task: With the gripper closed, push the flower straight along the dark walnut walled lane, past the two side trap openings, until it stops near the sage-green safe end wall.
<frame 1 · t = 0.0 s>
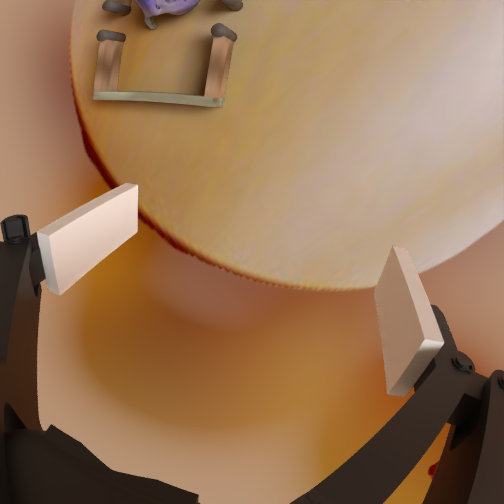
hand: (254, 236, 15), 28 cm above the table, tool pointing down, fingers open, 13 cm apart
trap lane: (169, 42, 36), on the table
flower: (176, 6, 33), on the table
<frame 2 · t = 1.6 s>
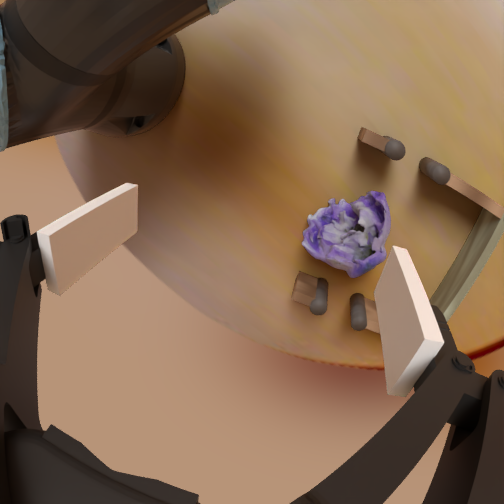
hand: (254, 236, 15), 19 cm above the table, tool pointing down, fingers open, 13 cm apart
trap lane: (399, 240, 32), on the table
flower: (356, 225, 33), on the table
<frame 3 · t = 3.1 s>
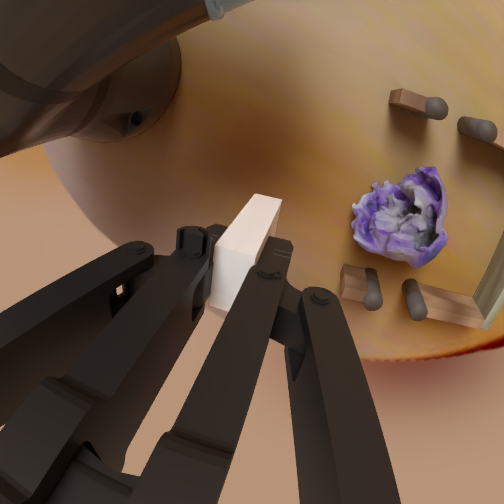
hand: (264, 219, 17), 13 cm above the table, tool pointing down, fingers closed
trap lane: (448, 213, 26), on the table
flower: (404, 208, 28), on the table
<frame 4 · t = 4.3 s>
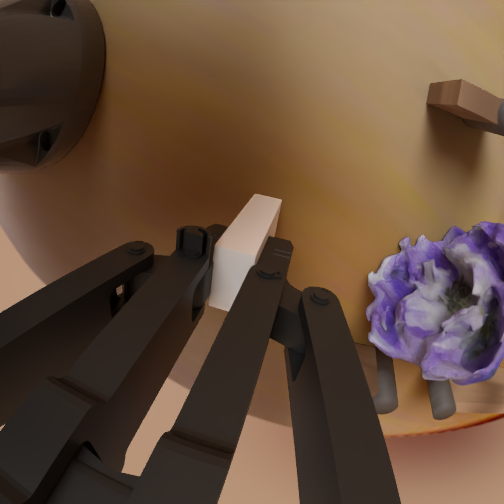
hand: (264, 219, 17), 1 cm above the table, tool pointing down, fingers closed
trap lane: (498, 272, 16), on the table
flower: (442, 273, 18), on the table
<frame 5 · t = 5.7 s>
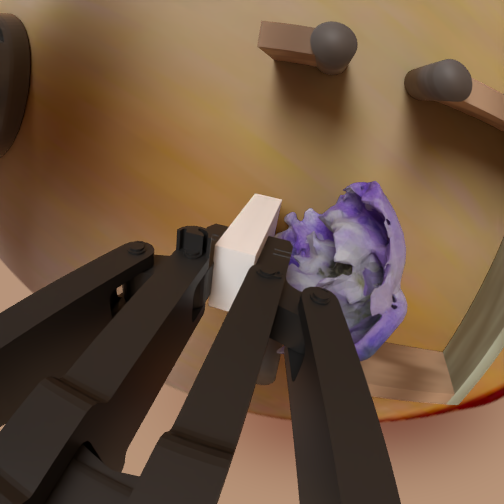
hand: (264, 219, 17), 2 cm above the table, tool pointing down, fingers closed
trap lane: (397, 234, 17), on the table
flower: (347, 247, 19), on the table, touching gripper
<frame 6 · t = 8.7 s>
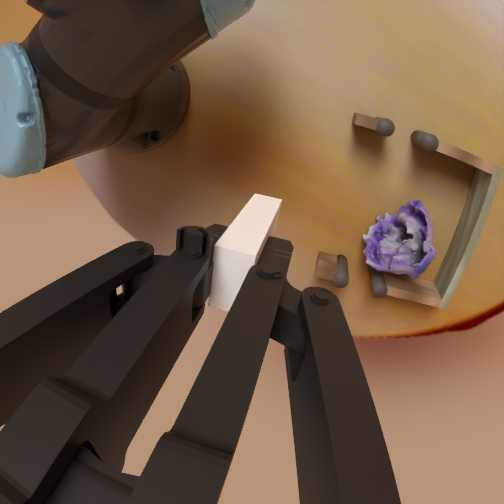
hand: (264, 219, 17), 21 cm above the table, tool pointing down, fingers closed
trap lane: (405, 210, 35), on the table
flower: (403, 231, 36), on the table
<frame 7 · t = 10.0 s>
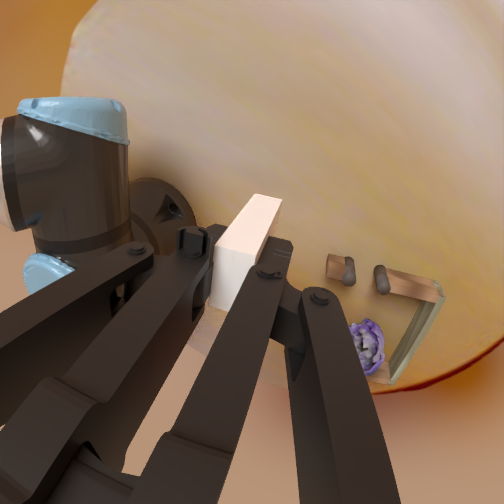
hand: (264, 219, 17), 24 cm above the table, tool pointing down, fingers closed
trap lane: (365, 318, 47), on the table
flower: (366, 333, 49), on the table
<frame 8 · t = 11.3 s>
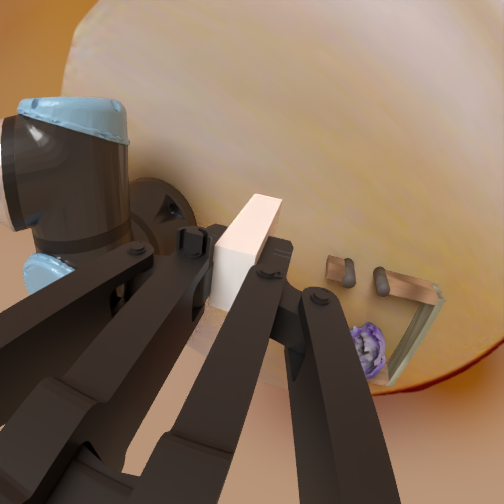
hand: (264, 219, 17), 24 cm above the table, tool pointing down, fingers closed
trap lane: (365, 320, 47), on the table
flower: (367, 336, 49), on the table
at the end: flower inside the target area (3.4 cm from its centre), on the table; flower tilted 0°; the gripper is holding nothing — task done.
